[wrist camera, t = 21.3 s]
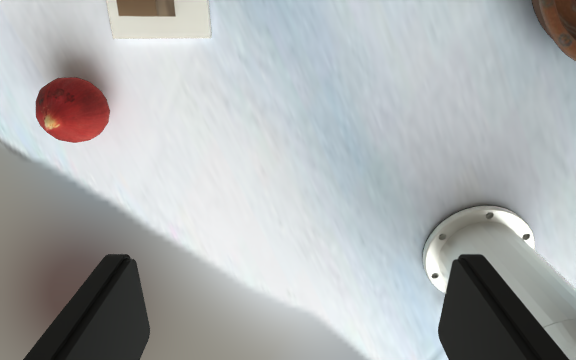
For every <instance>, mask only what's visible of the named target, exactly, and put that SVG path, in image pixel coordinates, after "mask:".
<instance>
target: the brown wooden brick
mask: <svg viewBox="0 0 576 360" xmlns="http://www.w3.org/2000/svg"><path fill="white" fill-rule="evenodd" d="M116 2H117V8H118V14H119V16H136V17H176V14H175V6H174V0H116Z"/></svg>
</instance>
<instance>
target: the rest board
mask: <svg viewBox="0 0 576 360" xmlns="http://www.w3.org/2000/svg"><path fill="white" fill-rule="evenodd" d="M106 3H107V8H108V14H109V19H110V25H111V30H112V36H113V39H153V38H212V34H211V21H210V9H209V0H174V6H175V14H176V17H136V16H119V14H118V8H117V2H116V0H106Z"/></svg>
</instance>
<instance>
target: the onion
mask: <svg viewBox="0 0 576 360" xmlns="http://www.w3.org/2000/svg"><path fill="white" fill-rule="evenodd" d="M109 114H110V110H109V106H108V103H107V99H106V98H105V96H104V95H103V93H102V92H101V91H100V90H99V89H98V88H97V87H95V86H94V85H93V84H91V83H90V82H88V81H85V80H82V79H80V78H57V79H55V80H54V81H52V82H50V83H49V84H47V85H46V86H44V87H43V88H42V89H41V90H40V91H39V94H38V97H37V100H36V118H37V120H38V122H39V124H40V126H41V127H42V128H43V129H44V130H45V131H46V132H47V133H49V134H50V135H52V136H53V137H55V138H56V139H58V140H62V141H67V142H73V143H76V142H82V141H88V140H91V139H92V138H94V137H96V136H97V135H99V134H100V133H101V132H102V131H103V130H104V128H105V126H106V125H107V123H108V121H109Z"/></svg>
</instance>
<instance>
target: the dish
mask: <svg viewBox="0 0 576 360" xmlns="http://www.w3.org/2000/svg"><path fill="white" fill-rule="evenodd" d="M532 4H533V8H534V11H535V13H536V16H537V18H538V20H539V22H540V24H541V25H542V27H543V28H544V30H545V31H546V32H547V34H548V35H549V36H550V37H551V38H552V39H553V40H554V41H555V43H556V44H557V45H558V46H559V48H560V49H561V50H562V51H563V52H564V53H565V54H566V55H567V56H569V57H570V58H572V59H573V60H575V61H576V0H532Z"/></svg>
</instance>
